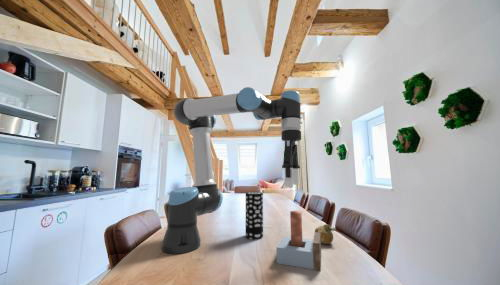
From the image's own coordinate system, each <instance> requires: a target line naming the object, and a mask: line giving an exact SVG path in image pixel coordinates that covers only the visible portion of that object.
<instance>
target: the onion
mask: <svg viewBox="0 0 500 285" xmlns="http://www.w3.org/2000/svg"><path fill="white" fill-rule="evenodd" d="M336 231H337V228H336V227H332V226H331V225H330V224H328V223H327V224H326V223H325V224H323V225H322V226H321V225H320V226H318V227H316V228H315V229H314V233H315V232H320V235H321V244H323V245H330V244H332V243H333V241H334V234H333V232H336Z"/></svg>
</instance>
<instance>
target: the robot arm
mask: <svg viewBox="0 0 500 285" xmlns="http://www.w3.org/2000/svg"><path fill="white" fill-rule="evenodd" d="M300 95H301V94H300V92H298V90H297V91H296V90H285V91H283V92H282V93H281V94H280V98H277V99H271V100H270V99H269V98H267V97H266V96H264V95H263V94H262V93H260V91H259V90H257V89H255V88H252V87H249V86H248V87H247V86H246V87H243V89H241V90H240V91H239V92H237V93H231V94H224V95H223V94H222V95H218V96H212V97H205V98H199V99H194V98H191V97H190V98H184V99H181V100H179V101H177V102H176V104H175V105H174V107H173V115H174V118H175V119H176V120H177V122H178V123H180V124H182V125H184V126H188V129H189V130H188V131H189V133H190V134H191V135H192V144H193V146H192V147H193V163H194V179H195V182H194V184H193V185H192V186H187V187H186V186H184V187H179V188H175V189H173V190H171V191H170V192H169V196H168V200H167V202H168V207H167V208H168V210H167V227H166V230H165V234H164V236H163V238H162V239H163V240H162V242H161V251H162V252H163V253H167V254H185V253H189V252H192V251H195V250H197V249H199V248H200V247H201V237H200V232H199V228H198V224H197V223H198V217H199V216H203V215H206V214H211V213H213V212H216V211H218V209H219V208H220V207H221V206H222V203H223V193H222V191H221V190H220V188H218V185H217V182H216V181H215V180H214V173H213V160H212V146H211V145H212V144H211V134H212V132H213V129H214V127H215V125H216V123H217V117H216V116H221V115H233V114H242V113H252V114H253V117H254V118H255V120H257V121H265V120H271V119H272V120H273V119H279V118H281V119H280V120H281V122H280V123H281V124H280V128H281V130H282V131H281V141H282V142H284V150H283V151H284V152H283V153H284V154H283V162H282V164H281V168H282V169H284V188H294V185H295V186H296V185H297V186H298V185H299V169H300V168H301V166H300V164H299V157H298V156H299V154H298V153H299V152H298V144H297V143H296V142H299V141H301V140H302V131H301V129H302V124H303V121H301V115H302V114H301V111H302V110H301V105H302V102H301V96H300Z"/></svg>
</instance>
